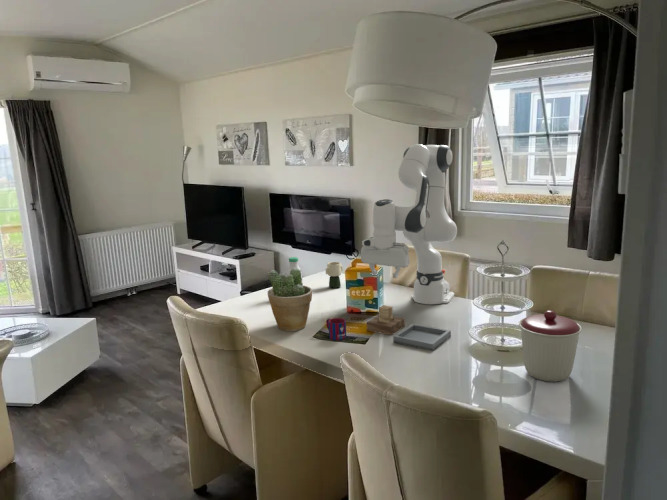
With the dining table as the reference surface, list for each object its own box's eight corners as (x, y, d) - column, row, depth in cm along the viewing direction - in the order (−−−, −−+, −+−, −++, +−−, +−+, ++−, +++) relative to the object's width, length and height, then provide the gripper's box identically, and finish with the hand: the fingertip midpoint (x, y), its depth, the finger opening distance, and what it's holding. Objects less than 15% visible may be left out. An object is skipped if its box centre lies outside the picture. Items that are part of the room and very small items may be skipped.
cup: (334, 341, 200) (334, 324, 198) (321, 334, 208) (321, 317, 207) (349, 337, 203) (349, 321, 202) (336, 330, 212) (335, 314, 210)
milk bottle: (304, 298, 257) (302, 258, 253) (288, 300, 256) (286, 260, 252) (302, 294, 265) (300, 255, 261) (286, 295, 263) (284, 257, 259)
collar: (380, 322, 219) (380, 314, 219) (404, 326, 213) (404, 318, 212) (366, 330, 211) (366, 321, 210) (391, 335, 204) (391, 326, 203)
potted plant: (294, 316, 231) (291, 261, 226) (323, 325, 218) (321, 267, 213) (261, 327, 219) (257, 269, 214) (289, 338, 205) (286, 276, 201)
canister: (531, 358, 178) (533, 298, 174) (587, 373, 165) (591, 309, 161) (507, 376, 165) (509, 312, 161) (566, 393, 153) (569, 324, 148)
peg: (384, 326, 215) (383, 305, 213) (392, 327, 212) (392, 306, 210) (379, 329, 211) (378, 307, 210) (387, 330, 209) (387, 309, 207)
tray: (412, 329, 209) (412, 323, 209) (450, 336, 200) (450, 330, 200) (393, 342, 197) (393, 336, 196) (432, 350, 187) (432, 344, 187)
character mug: (338, 284, 281) (337, 260, 279) (347, 286, 276) (346, 262, 273) (322, 288, 275) (321, 263, 272) (330, 290, 269) (329, 266, 267)
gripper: (412, 242, 201) (412, 277, 204) (366, 238, 213) (367, 271, 216) (404, 245, 196) (404, 280, 199) (358, 241, 208) (359, 274, 211)
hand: (384, 276), depth 207 cm, fingers open, 8 cm apart
